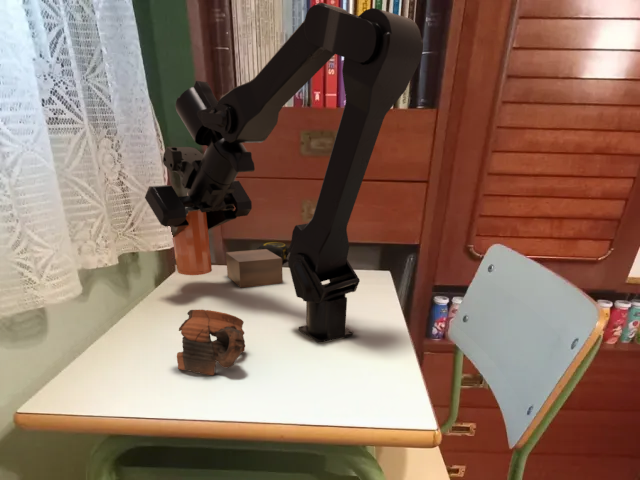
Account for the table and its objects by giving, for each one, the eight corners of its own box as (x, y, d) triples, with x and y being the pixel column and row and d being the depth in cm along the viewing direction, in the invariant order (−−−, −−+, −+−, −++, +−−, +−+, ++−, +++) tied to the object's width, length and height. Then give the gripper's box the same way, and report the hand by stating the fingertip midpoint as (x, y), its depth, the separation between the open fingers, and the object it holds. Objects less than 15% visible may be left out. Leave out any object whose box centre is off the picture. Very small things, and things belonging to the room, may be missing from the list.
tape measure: (254, 262, 113) (253, 246, 111) (266, 256, 119) (265, 240, 117) (281, 265, 111) (281, 248, 109) (292, 259, 117) (292, 243, 115)
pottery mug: (159, 367, 65) (168, 306, 64) (218, 378, 72) (226, 323, 71) (209, 373, 57) (220, 303, 56) (270, 385, 64) (279, 323, 63)
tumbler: (217, 272, 91) (210, 200, 85) (184, 276, 88) (174, 202, 82) (204, 265, 96) (197, 196, 89) (173, 269, 93) (163, 198, 86)
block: (282, 283, 99) (282, 258, 96) (240, 287, 96) (239, 262, 93) (267, 272, 106) (266, 249, 103) (227, 276, 102) (225, 252, 100)
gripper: (237, 128, 83) (204, 192, 95) (140, 126, 71) (117, 200, 83) (270, 182, 83) (233, 240, 95) (178, 190, 71) (150, 255, 83)
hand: (186, 233), depth 89 cm, fingers closed on tumbler, 6 cm apart
